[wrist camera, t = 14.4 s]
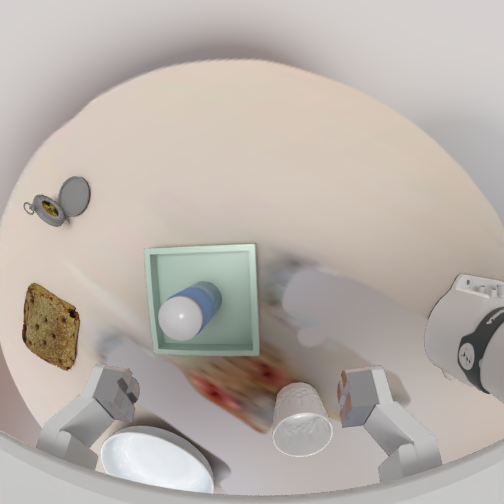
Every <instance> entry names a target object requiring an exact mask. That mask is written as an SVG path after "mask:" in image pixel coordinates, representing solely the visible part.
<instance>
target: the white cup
mask: <svg viewBox="0 0 504 504" xmlns="http://www.w3.org/2000/svg"><path fill="white" fill-rule="evenodd" d="M332 436H333V427H332V424H331V422H330V420H329V417H328V415H327V412H326V410H325V407H324V405H323V403H322V401H321V399H320V398H319V396H318V393H317V391H316V390H315V389H314V388H313V387H312V386H311V385H309V384H306V383H303V382H298V383H291V384H289V385H287V386H285V387H283V388H282V389H281V390H280V392H279V393H278V394H277V397H276V402H275V409H274V418H273V433H272V440H273V444H274V446H275V447H276V448H277V449H278V450H279V451H280V452H281V453H283V454H285V455H288V456H292V457H305V456H309V455H313V454H316V453H318V452H320V451H321V450H323V449H324V448H325V447H326V446H327V445H328V444H329V442H330V441H331V439H332Z"/></svg>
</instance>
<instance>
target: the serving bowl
mask: <svg viewBox="0 0 504 504" xmlns="http://www.w3.org/2000/svg"><path fill="white" fill-rule="evenodd" d="M100 456H101V462H102V465H103V467H104V469H105V471H106V473H107V474H108V475H112V476H115V477H119V478H123V479H127V480H131V481H135V482H140V483H144V484H149V485H154V486H160V487H165V488H171V489H178V490H184V491H192V492H201V493H211V494H213V493H214V476H213V472H212V469H211V467H210V465H209V463H208V461H207V460H206V458H205V457H204V456H203V454H202V453H201V452H200V451H199V450H198V449H197V448H196V447H195V446H193V445H192V444H191V443H190V442H188V441H187V440H185V439H184V438H182V437H180V436H178V435H176V434H174V433H172V432H169V431H167V430H164V429H160V428H156V427H151V426H131V427H127V428H123V429H121V430H119V431H117V432H115V433H113V434H112V435H111V436H110V437H108V438H107V439H106V440H105V442H104V443H103V445H102V447H101V452H100Z"/></svg>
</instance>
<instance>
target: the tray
mask: <svg viewBox="0 0 504 504" xmlns="http://www.w3.org/2000/svg"><path fill="white" fill-rule="evenodd" d="M144 256H145V272H146V285H147V297H148V307H149V317H150V325H151V334H152V342H153V349H154V354H168V355H191V356H259V352H260V336H259V310H258V285H257V260H256V243H255V244H231V245H208V246H186V247H164V248H148V249H144ZM202 281H206V282H210V283H212V284H214V285H215V286H216V287H217V288H218V289H219V291H220V293H221V296H222V303H221V306H220V308H219V310H218V311H217V312H216V314H215V315H214V316H213V317H212V318H211V320H210V321H209V322H208V323H207V325H206V326H205V327H204V328H203V329H202V331H201V332H200V333H199V334H197V335H196V336H194V337H192V338H191V339H189V340H185V341H178V340H174V339H172V338H170V337H168V336H167V335H166V334H165V333H164V332H163V330H162V329H161V327H160V324H159V320H158V314H159V310H160V308H161V306H162V305H163V304H164V303H165V302H166V300H167V299H168V298H169V297H171V296H173V295H174V294H176V293H178V292H180V291H182V290H184V289H186V288H188V287H190V286H192V285H194V284H195V283H198V282H202Z"/></svg>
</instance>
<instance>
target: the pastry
mask: <svg viewBox="0 0 504 504" xmlns="http://www.w3.org/2000/svg"><path fill="white" fill-rule="evenodd" d="M75 309H76V308H75V307H74V306H72V305H70V304H69V303H67V302H65V301H63V300H61V299H59V298H58V297H56V296H55V295H54V294H52V293H51V292H49V291H48V290H46V289H45V288H43V287H42V286H40V285H38V284H36V283H33V284H31V285H30V286H29V287H28V290H27V292H26V298H25V304H24V321H23V322H24V324H23V330H22V338H23V341H24V343H25V344H26V346H27V347H28V348H29V349H30V350H31V352H33V353H34V354H36V355H37V356H38V357H40V358H41V359H43V360H45V361H46V362H48V363H50V364H53V365H57V367H60V368H61V369H63V370H66V371H68V370H69V369H70V367H72V365H73V360H74V359H75V356H76V355H75V346H76V340H77V334H78V329H79V321H80V320H79V314H78V312H75Z"/></svg>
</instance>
